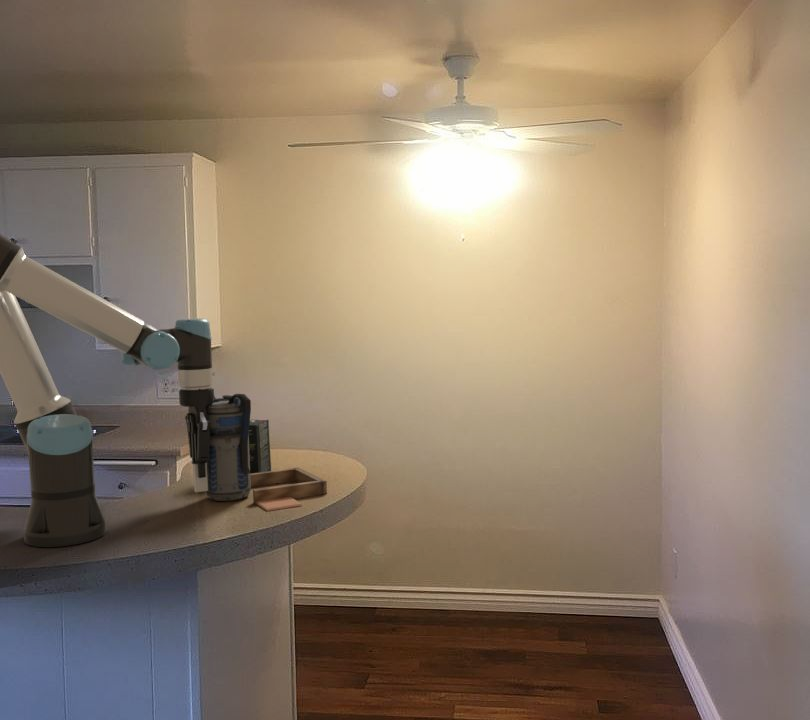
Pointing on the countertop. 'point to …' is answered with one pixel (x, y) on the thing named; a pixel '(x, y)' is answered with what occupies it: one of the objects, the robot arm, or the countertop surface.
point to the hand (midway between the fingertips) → (201, 490)
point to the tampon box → (259, 446)
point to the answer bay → (303, 488)
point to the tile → (279, 503)
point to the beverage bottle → (229, 448)
